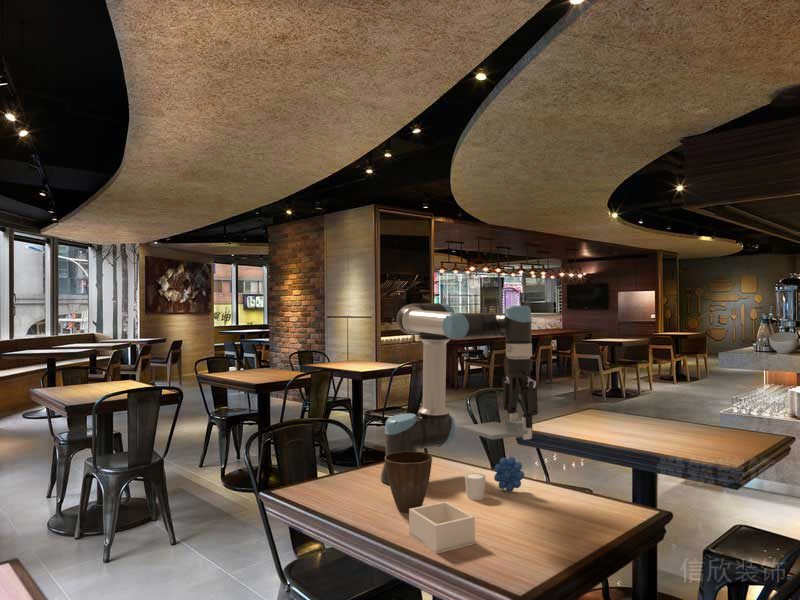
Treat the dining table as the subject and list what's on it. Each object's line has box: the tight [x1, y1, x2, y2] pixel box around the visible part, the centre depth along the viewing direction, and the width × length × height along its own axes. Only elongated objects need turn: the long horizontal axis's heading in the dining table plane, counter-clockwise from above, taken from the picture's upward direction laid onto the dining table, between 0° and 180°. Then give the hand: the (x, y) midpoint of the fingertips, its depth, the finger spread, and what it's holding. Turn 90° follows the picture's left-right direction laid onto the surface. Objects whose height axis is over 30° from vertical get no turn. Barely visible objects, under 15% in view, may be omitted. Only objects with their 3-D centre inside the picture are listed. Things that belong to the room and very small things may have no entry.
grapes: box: [493, 456, 525, 493], centre depth 187 cm, size 12×7×12 cm, turn 47°
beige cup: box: [464, 472, 486, 501], centre depth 181 cm, size 7×7×7 cm
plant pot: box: [384, 451, 433, 513], centre depth 171 cm, size 15×15×16 cm
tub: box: [408, 501, 476, 555], centre depth 147 cm, size 14×12×7 cm
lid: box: [459, 418, 534, 441], centre depth 158 cm, size 15×19×4 cm
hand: (520, 436), depth 161 cm, fingers closed on lid, 5 cm apart
